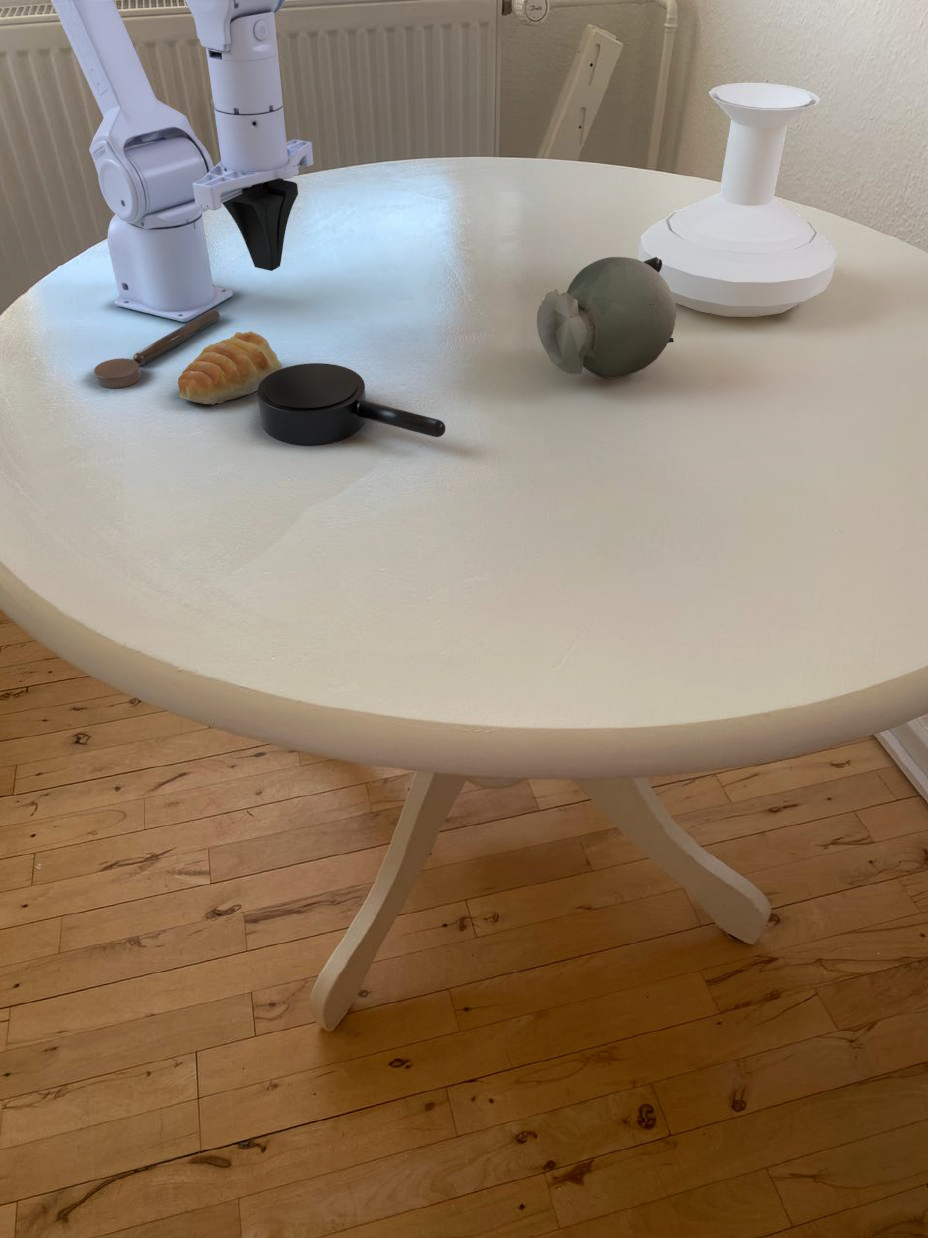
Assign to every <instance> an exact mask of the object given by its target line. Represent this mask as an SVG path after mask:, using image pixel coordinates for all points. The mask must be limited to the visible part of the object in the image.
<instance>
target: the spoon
mask: <svg viewBox="0 0 928 1238" xmlns="http://www.w3.org/2000/svg"><path fill="white" fill-rule="evenodd" d="M220 318H221V313H220V312H219V311H218V310H217V309H212V308H211V309H209V310H207V311H205V312H204V313H202V314H200V315H198V316H197V317H195V318H193V319H192V320H190V321H188V322H186V323H185V324H184V325H182V326H180V327H179V328H177V329H176V330H174V331H172V332H170V333H169V334H166V335H165V336H163V337H161V338H160V339H158V340H156V341H155V342H153V343H151V344H149V345H147V346H146V347H144V348H143V349H140V350H139V351H137V352H135V353H134V355H133V356H132V357H133V358H132V359H131V358H124V357H123V358H122V357H121V358H112V359H108V360H104V361H102V362H100V363H99V364H97V365H96V366H95V367H94V369H93V373H94V377H95V382H96V383H97V384H98V385H99V386H101V387H103V388H109V389H121V388H125V387H129V386H132V385H134V384H136V383H138V382H139V381H140V379H141V378H142V371H141V366H144V365H146V364H147V363H149V362H151V361H153V360H154V359H156V358H158V357H160V356H161V355H162V354H165V353H166V352H168V351H170V350H171V349H172V348H175V347H176V346H178V345H179V344H181V343H183V342H184V341H186V340H188V339H190V338H191V337H193V336H194V335H196V334H198V333H200V332H201V331H203V330H205V329H206V328H208V327H209V326H211V325H213V324H215V323H216V322H218V321H219V320H220Z"/></svg>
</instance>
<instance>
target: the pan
mask: <svg viewBox="0 0 928 1238" xmlns="http://www.w3.org/2000/svg"><path fill="white" fill-rule="evenodd" d="M256 394H257V400H258V401H257V402H258V408H259V415H260V423H261V426H262V429H263V430H264V432H266V434H268V435H269V436H270V437H272V438H274V439H275V440H278V441H280V442H284V443H287V444H292V445H298V446H299V445H300V446H318V445H327V444H331V443H337V442H339V441H342V440H345V439H347V438H349V437H351V436H353V435H355V434H356V433H358V432H359V431H360V430H361V429H363V427H364V426H365V424H366V421H367V420H369V421H373V422H377V423H381V424H385V425H389V426H392V427H396V428H400V429H404V430H408V431H411V432H414V433H417V434H422V435H426V436H430V437H433V438H440V437H442V436H443V435H444V434H445V433H446V424H445V423H444V421H442V420H441V419H437V418H433V417H429V416H426V415H421V414H419V413H414V412H411V411H407V410H402V409H400V408H395V407H392V406H388V405H383V404H380V403H376V402H373V401H369V400H367V397H366V396H367V395H366V384H365V380H364V379H363V377H362V376H361V375H360V374H359V373H358V372H356V371H355V370H352V369H351V368H348V367H346V366H342V365H337V364H333V363H324V362H323V363H322V362H310V363H309V362H308V363H300V364H299V363H298V364H295V365H290V366H286V367H282V369H280V370H277V371H275V372H273V373H271V374H270V375H268V376H267V377H265V378H264V379H263V380H262V381H261V382H260V384H259V386H258V389H257V391H256Z"/></svg>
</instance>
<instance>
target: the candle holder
mask: <svg viewBox="0 0 928 1238" xmlns="http://www.w3.org/2000/svg"><path fill="white" fill-rule="evenodd" d="M708 94H709V96H710V98H711V99H712V100H713V101H714V102H715V103H716V104H717V105H718V106H719V108H720V109H721V110H722V111H723V112H724V114H726V116H727V117H729V119H730V124H729V129H728V137H727V141H726V142H727V143H726V147H725V148H726V149H725V155H724V161H723V167H722V168H723V169H722V173H721V180H720V186H719V192H717V193H715V194H712V195H710V196H707V197H705V198H703V199H700V200H699V201H696V202H694V203H691V204H688V205H685V206H684V207H682V208H680V209H676V210H674V211H672V212H670V214H668V215H667V216H664V218H662V219H660V220H658V221H656V222H655V223H653V224H652V225H651V226H649V228H647V229H646V230H645V231H644V232H643V233H642V234H641V236H639V243H638V254H637V260H640V261H642V262H644V261H646V260H649V259H652V258H655V257H657V258H658V259H661V260H662V268H661V270H660V272H659V274H660V275H661V276H662V278H663V279H664V280H665V281H666V283H667V285H668V286H669V288H670V291H671V293H672V295H673V299H674V302H675V304H678V305H681V306H683V307H686V308H689V309H692V310H695V311H697V312H701V313H706V314H712V315H717V316H722V317H728V318H729V317H730V318H731V317H735V318H737V317H739V318H741V317H742V318H746V317H747V318H758V317H765V316H771V315H778V314H782V313H784V312H786V311H789V310H790V309H792V308H795V307H796V306H798V305H801V304H802V303H804V302H806V301H807V300H810V299H812V298H813V297H815V296H817V295H819V294H821V293H823V292H825V291H826V290H827V287H828V286H829V284H830V282H831V281H832V279H833V277H834V271H835V268H836V263H837V259H838V254H839V253H838V252H837V251H836V249H835V248H834V247H833V245H832V243H830V241H829V240H828V239H827V238H826V237H825V236H824V235H823V234H822V233H821V232H820V231H819V230H818V229H817V228H816V227H815V226H814V225H813V224H812V222H810V221H808V220H806V219H805V218H804V217H803V216H802V215H800V214H799V213H797V212H796V211H794V210H793V209H792V208H790V207H789V206H787V205H786V204H784V203H783V202H781V201H780V200H778V198H776V197H775V193H776V189H777V188H776V187H777V183H778V177H779V172H780V168H781V162H782V156H783V152H784V146H785V141H786V136H787V130H788V124H790V123H791V122H793V121H794V120H795V119H797V118H799V117H800V116H801V115H803V114H804V113H806V112H807V111H809V110H811V109H812V108H814V107H815V106H816V105H817V104H819V102H820V101H821V98H820V97H819V96H818V95H817V94H816V93H814V92H811V91H809V90H808V89H804V88H801V87H798V86H797V87H796V86H793V85H792V86H790V85H786V84H779V83H769V82H736V83H726V84H722V85H719V86H718V85H717V86H715V87H713V88H711V90H710V91H708Z"/></svg>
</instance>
